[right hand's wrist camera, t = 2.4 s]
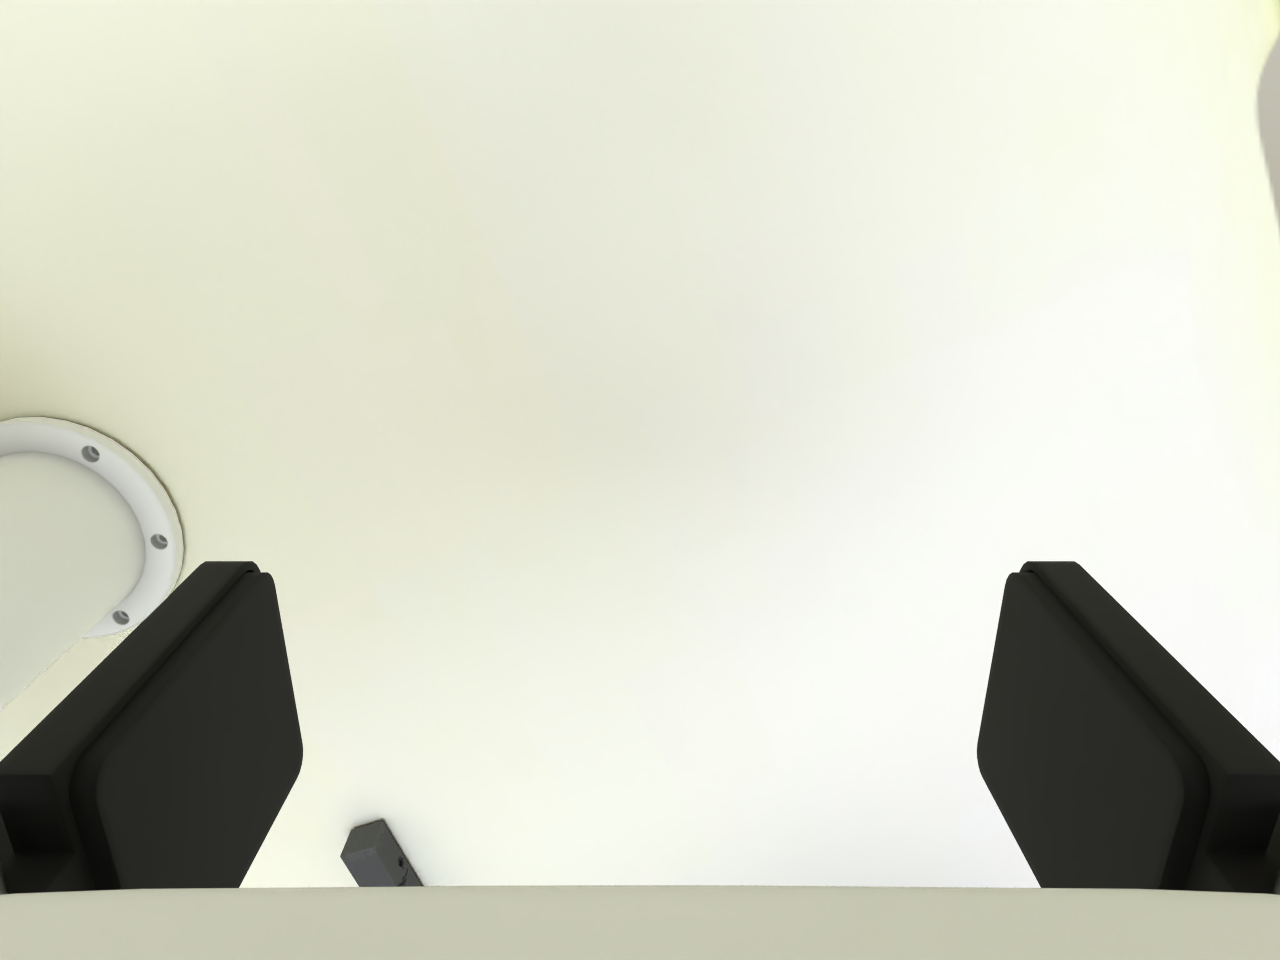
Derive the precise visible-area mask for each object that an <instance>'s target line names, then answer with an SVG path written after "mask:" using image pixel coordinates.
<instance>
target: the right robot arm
mask: <svg viewBox="0 0 1280 960" xmlns="http://www.w3.org/2000/svg"><path fill="white" fill-rule="evenodd" d="M183 552H184V548H183V537H182V529H181V526H180V523H179V519H178V516H177V513H176V510H175V508H174V506H173V504H172V502H171V500H170V498H169V496H168V494H167V492H166V491H165V489H164V488H163V486H162V485H161V484H160V482H159V481H158V480H157V478H156V477H155V476H154V475H153V473H152V472H151V471H150V470H149V469H148V468H147V467H146V466H145V465H144V464H143V463H142V462H141V461H140V460H139V459H138V458H137V457H136V456H135V455H134V454H133V453H131V452H130V451H128V450H127V449H125V448H124V447H123V446H121V445H120V444H118V443H117V442H115V441H114V440H113V439H111V438H109V437H107V436H105V435H103V434H101V433H99V432H97V431H95V430H93V429H91V428H88V427H85V426H82V425H79V424H75V423H72V422H69V421H66V420H60V419H53V418H46V417H21V418H14V419H10V420H5V421H1V422H0V711H1V710H2V709H3V708H4V707H5V706H7V705H8V704H9V703H10V702H11V701H12V700H13V699H14V698H15V697H17V696H18V695H19V694H20V693H21V692H22V691H23V690H24V689H25V688H26V687H28V686H29V685H30V684H31V683H32V682H33V681H34V680H35V679H36V678H37V677H39V676H40V675H41V674H42V673H43V672H44V671H45V670H46V669H47V668H49V667H50V666H51V665H52V664H53V663H54V662H55V661H56V660H57V659H58V658H60V657H61V656H62V655H63V654H64V653H65V652H66V651H67V650H68V649H69V648H71V647H72V646H73V645H74V644H75V643H76V642H77V641H78V640H79V639H81V638H99V637H104V636H109V635H113V634H118V633H120V632H123V631H125V630H127V629H130V628H132V627H134V626H136V625H138V624H139V623H140V622H142V621H143V620H144V621H143V622H142V623H141V624H140V625H139V626H138V627H137V628H136V629H135V630H134V631H133V632H132V633H131V634H130V635H129V636H128V637H127V638H126V639H125V640H124V641H123V642H122V643H120V644H119V645H118V646H117V647H116V648H115V649H114V650H113V651H112V652H111V653H110V654H109V655H108V656H107V657H106V658H105V659H104V660H103V661H102V662H101V663H100V664H99V665H98V666H97V667H96V668H95V669H94V670H93V671H92V672H91V673H90V674H89V675H88V676H87V677H86V678H85V679H84V680H83V681H82V682H81V683H80V684H79V685H78V686H77V687H76V688H75V689H74V690H73V691H72V692H71V693H70V694H69V695H68V696H67V697H66V698H65V699H64V700H63V701H62V702H61V703H60V704H59V705H58V706H57V707H56V708H55V709H53V710H52V711H51V712H50V713H49V714H48V715H47V716H46V717H45V718H44V719H43V720H42V721H41V722H40V723H39V724H38V725H37V726H36V727H35V728H34V729H33V730H32V731H31V732H30V733H29V734H28V735H27V736H26V737H25V738H24V739H23V740H22V741H21V742H20V743H19V744H18V745H17V746H16V747H15V748H14V749H13V750H12V751H11V752H10V753H9V754H8V755H7V756H6V757H5V758H4V759H3V760H2V761H1V762H0V960H1280V762H1279V761H1278V760H1277V759H1276V758H1275V757H1274V756H1273V755H1272V754H1271V753H1270V752H1269V751H1268V750H1267V749H1266V748H1265V747H1264V746H1263V745H1262V744H1261V743H1260V742H1259V741H1258V740H1257V739H1256V738H1255V737H1254V736H1253V735H1252V734H1251V733H1250V732H1249V731H1248V730H1247V729H1246V728H1245V727H1244V726H1243V725H1242V724H1241V723H1240V722H1239V721H1238V720H1237V719H1236V718H1235V717H1234V716H1233V715H1232V714H1231V713H1230V712H1229V711H1228V710H1227V709H1225V708H1224V707H1223V706H1222V705H1221V704H1220V703H1219V702H1218V701H1217V700H1216V699H1215V698H1214V697H1213V696H1212V695H1211V694H1210V693H1209V692H1208V691H1207V690H1206V689H1205V688H1204V687H1203V686H1202V685H1201V684H1200V683H1199V682H1198V681H1197V680H1196V679H1195V678H1194V677H1193V676H1192V675H1191V674H1190V673H1189V672H1188V671H1187V670H1186V669H1185V668H1184V667H1183V666H1182V665H1181V664H1180V663H1179V662H1178V661H1177V660H1176V659H1175V658H1174V657H1173V656H1172V655H1171V654H1170V653H1169V652H1168V651H1167V650H1166V649H1165V648H1164V647H1163V646H1162V645H1161V644H1160V643H1158V642H1157V641H1156V640H1155V639H1154V638H1153V637H1152V636H1151V635H1150V634H1149V633H1148V632H1147V631H1146V630H1145V629H1144V628H1143V627H1142V626H1141V625H1140V624H1139V623H1138V622H1137V621H1136V620H1135V619H1134V618H1133V617H1132V616H1131V615H1130V614H1129V613H1128V612H1127V611H1126V610H1125V609H1124V608H1123V607H1122V606H1121V605H1120V604H1119V603H1118V602H1117V601H1116V600H1115V599H1114V598H1113V597H1112V596H1111V595H1110V594H1109V593H1108V592H1107V591H1106V590H1105V589H1104V588H1103V587H1102V586H1101V585H1100V584H1099V583H1098V582H1097V581H1096V580H1095V579H1094V578H1093V577H1091V576H1090V575H1089V574H1088V573H1087V572H1086V571H1085V570H1084V569H1083V568H1082V567H1081V566H1080V565H1079V564H1078V563H1076V562H1074V561H1027V562H1026V563H1025V564H1024V565H1023V566H1022V568H1021V570H1020V572H1019V573H1011V574H1010V575H1009V576H1008V578H1007V580H1006V584H1005V589H1004V595H1003V600H1002V606H1001V612H1000V618H999V623H998V629H997V635H996V641H995V646H994V652H993V658H992V663H991V669H990V675H989V681H988V686H987V692H986V698H985V704H984V709H983V715H982V721H981V727H980V732H979V738H978V744H977V759H978V765H979V769H980V772H981V775H982V777H983V779H984V781H985V783H986V785H987V787H988V789H989V790H990V792H991V794H992V796H993V798H994V800H995V802H996V804H997V805H998V807H999V809H1000V811H1001V813H1002V815H1003V817H1004V819H1005V821H1006V822H1007V824H1008V826H1009V828H1010V830H1011V832H1012V834H1013V836H1014V837H1015V839H1016V841H1017V843H1018V845H1019V847H1020V849H1021V851H1022V853H1023V854H1024V856H1025V858H1026V860H1027V862H1028V864H1029V866H1030V868H1031V870H1032V871H1033V873H1034V875H1035V877H1036V879H1037V881H1038V883H1039V885H1040V886H1041V888H969V887H846V886H423V887H311V888H239V886H240V885H241V883H242V881H243V879H244V877H245V875H246V873H247V871H248V870H249V868H250V866H251V864H252V862H253V860H254V858H255V856H256V854H257V853H258V851H259V849H260V847H261V845H262V843H263V841H264V839H265V837H266V836H267V834H268V832H269V830H270V828H271V826H272V824H273V822H274V821H275V819H276V817H277V815H278V813H279V811H280V809H281V807H282V805H283V804H284V802H285V800H286V798H287V796H288V794H289V792H290V790H291V788H292V787H293V785H294V783H295V781H296V779H297V777H298V775H299V772H300V769H301V765H302V759H303V744H302V738H301V732H300V727H299V721H298V715H297V709H296V704H295V698H294V692H293V686H292V681H291V675H290V669H289V663H288V658H287V652H286V646H285V641H284V635H283V629H282V623H281V618H280V612H279V606H278V600H277V595H276V589H275V584H274V580H273V578H272V576H271V575H270V574H269V573H261V572H260V570H259V568H258V566H257V565H256V564H255V563H254V562H253V561H206V562H204V563H202V564H201V565H200V566H199V567H198V568H197V569H196V570H195V571H194V572H193V573H192V574H191V575H190V576H189V577H187V578H186V579H185V580H184V581H183V582H182V583H181V584H180V585H179V586H178V587H177V588H176V589H175V590H174V591H173V592H172V593H171V591H172V590H173V588H174V587H175V585H176V582H177V580H178V577H179V574H180V572H181V568H182V560H183ZM170 593H171V594H170ZM169 594H170V595H169Z"/></svg>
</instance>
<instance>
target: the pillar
mask: <svg viewBox="0 0 1280 960" xmlns="http://www.w3.org/2000/svg"><path fill="white" fill-rule="evenodd" d="M340 857H341V859H342V860H343V862H344V863H345V865H346V866H347V868H348V870H349V871H350V873H351V874H352V876H353V877H354V879H355V881H356V882H357V884H358V885H359V887H422V885H421V883H420V882H419V880H418V878H417V877H416V875H415V873H414V872H413V870H412V868H411V867H410V865H409V863H408V862H407V860H406V858H405V857H404V855H403V853H402V852H401V850H400V848H399V847H398V845H397V843H396V842H395V840H394V838H393V837H392V835H391V833H390V832H389V830H388V828H387V827H386V825H385V823H384V822H383V820H382V821H379V822H376V823H372V824H369V825H366V826H362V827H359V828H355V829H352V830H351V832H350V834H349V836H348V839H347V841H346V844H345V846H344V849H343V851H342V853H341V856H340Z"/></svg>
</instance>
